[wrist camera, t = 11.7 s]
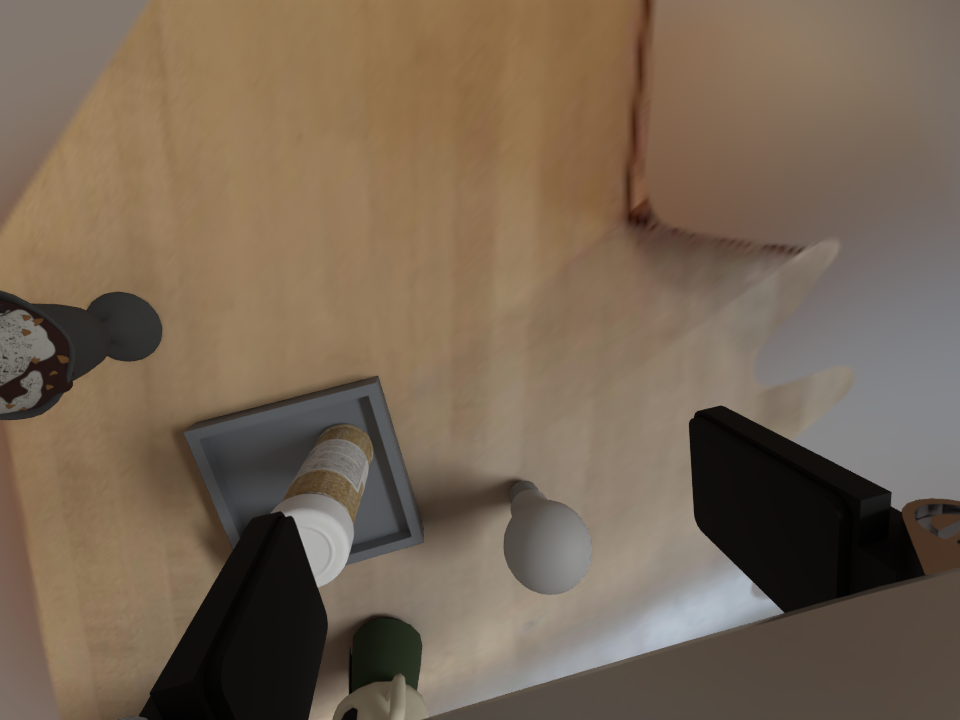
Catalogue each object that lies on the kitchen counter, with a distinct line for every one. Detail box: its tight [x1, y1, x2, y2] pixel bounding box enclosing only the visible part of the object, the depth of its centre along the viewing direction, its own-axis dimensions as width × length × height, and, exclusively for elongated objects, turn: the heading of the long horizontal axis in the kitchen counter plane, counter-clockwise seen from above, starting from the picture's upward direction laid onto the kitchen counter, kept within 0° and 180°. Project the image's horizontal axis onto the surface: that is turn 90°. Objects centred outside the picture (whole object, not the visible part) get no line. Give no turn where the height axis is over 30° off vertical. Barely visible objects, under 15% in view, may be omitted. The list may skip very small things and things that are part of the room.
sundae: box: [0, 291, 162, 420], centre depth 25 cm, size 7×7×15 cm
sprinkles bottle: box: [270, 424, 373, 588], centre depth 29 cm, size 5×5×13 cm
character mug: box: [333, 618, 429, 720], centre depth 34 cm, size 11×7×13 cm, turn 162°
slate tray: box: [183, 376, 424, 565], centre depth 35 cm, size 14×14×2 cm
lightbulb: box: [504, 481, 592, 595], centre depth 34 cm, size 6×6×11 cm
